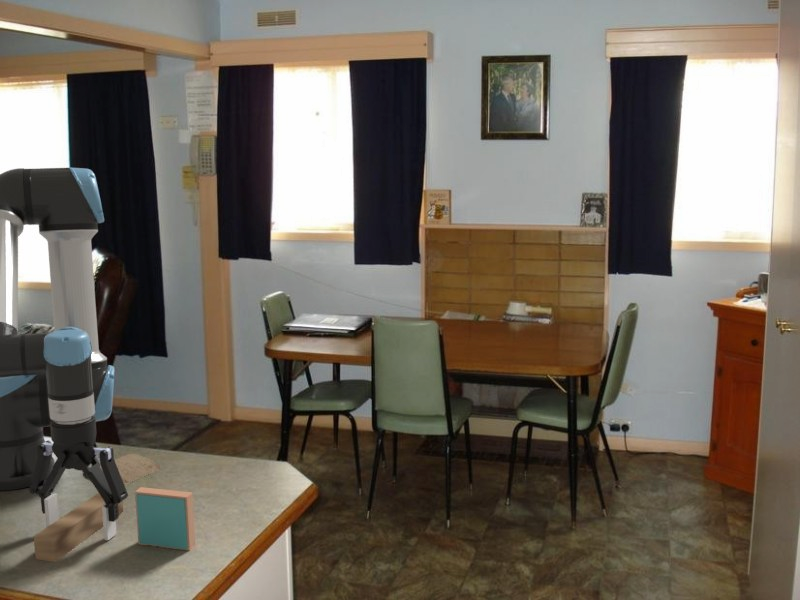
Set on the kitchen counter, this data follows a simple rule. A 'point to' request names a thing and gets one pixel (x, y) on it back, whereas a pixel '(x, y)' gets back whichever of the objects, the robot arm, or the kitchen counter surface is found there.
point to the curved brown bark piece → (134, 467)
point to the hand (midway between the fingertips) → (81, 533)
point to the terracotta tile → (165, 518)
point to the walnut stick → (70, 530)
